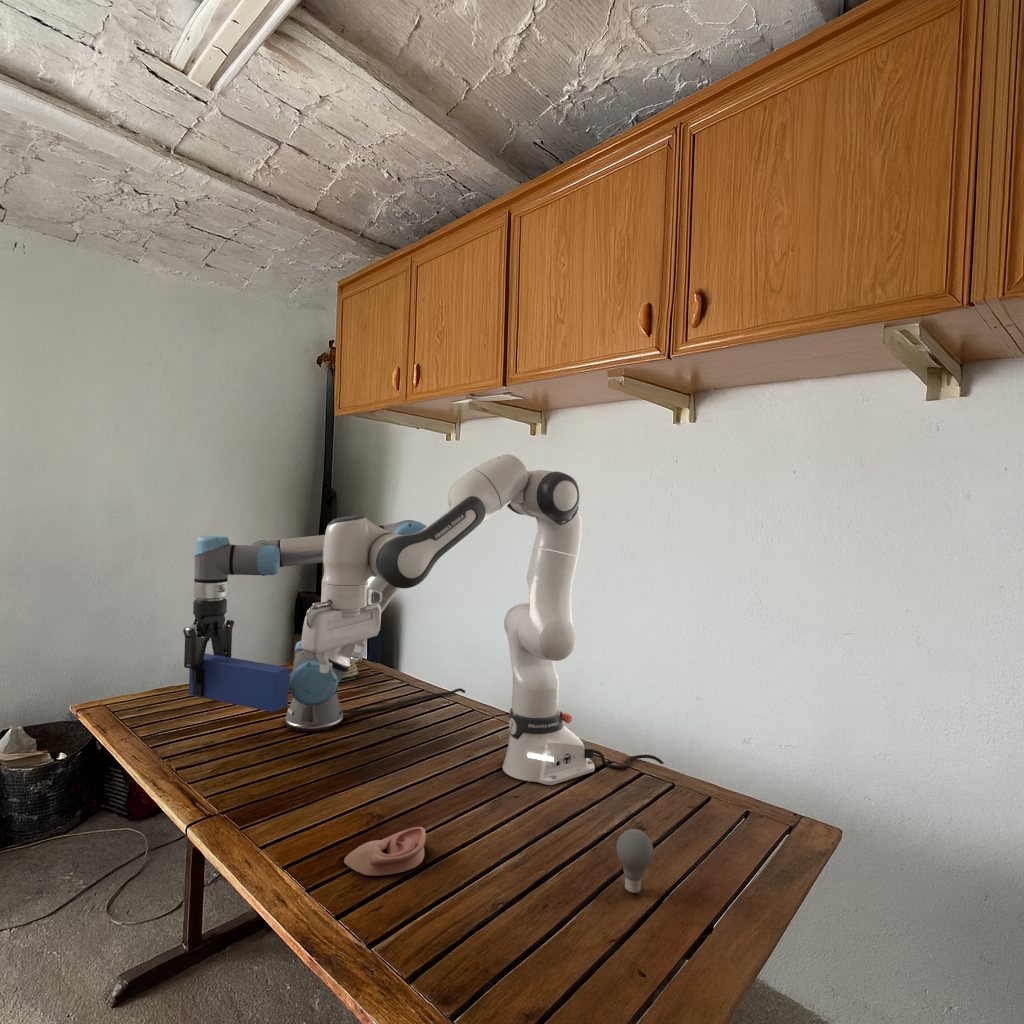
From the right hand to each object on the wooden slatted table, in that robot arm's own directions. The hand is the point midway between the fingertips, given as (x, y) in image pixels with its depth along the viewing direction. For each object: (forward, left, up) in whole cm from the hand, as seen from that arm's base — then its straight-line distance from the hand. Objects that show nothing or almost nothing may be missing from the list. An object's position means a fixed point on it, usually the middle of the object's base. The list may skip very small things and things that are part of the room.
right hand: (341, 666), depth 126 cm
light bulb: (-40, +44, -30) cm, 66 cm away
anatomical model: (-5, +19, -30) cm, 36 cm away
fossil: (-18, -93, -30) cm, 99 cm away
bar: (+16, -39, -17) cm, 46 cm away
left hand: (+22, -46, -16) cm, 54 cm away
